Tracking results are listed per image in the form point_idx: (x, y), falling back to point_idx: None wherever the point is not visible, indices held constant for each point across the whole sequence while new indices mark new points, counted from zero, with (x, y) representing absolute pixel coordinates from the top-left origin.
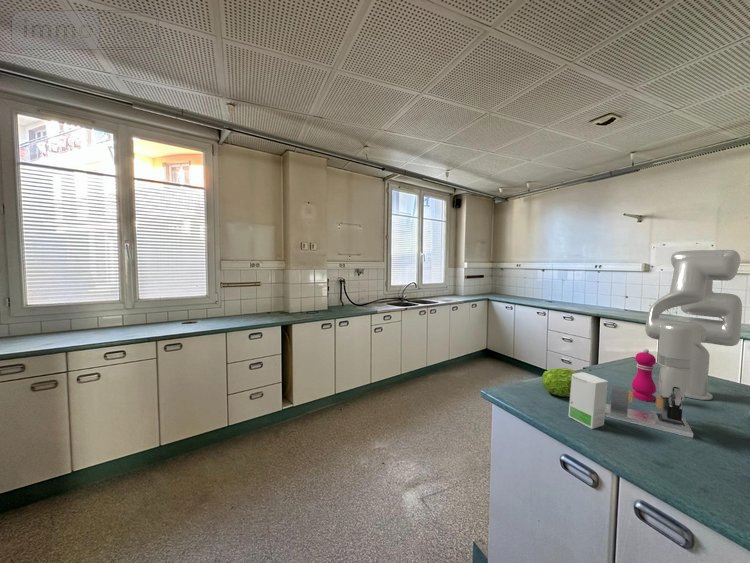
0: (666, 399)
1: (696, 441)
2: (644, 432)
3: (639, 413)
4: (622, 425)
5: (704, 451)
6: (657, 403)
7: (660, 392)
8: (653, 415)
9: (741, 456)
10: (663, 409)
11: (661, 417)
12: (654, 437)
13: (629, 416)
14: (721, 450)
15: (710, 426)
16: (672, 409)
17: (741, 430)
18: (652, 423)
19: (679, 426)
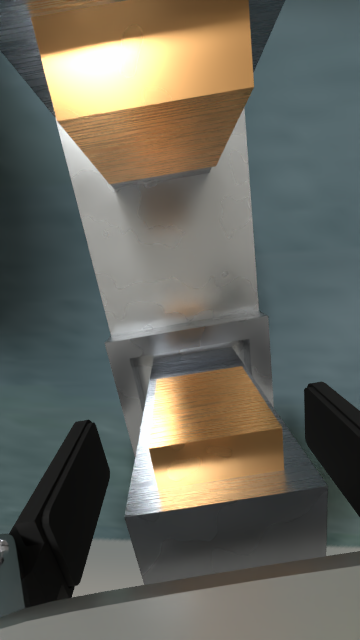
0: (166, 539)
1: (121, 450)
2: (19, 289)
3: (213, 254)
4: (4, 183)
5: (47, 467)
6: (153, 408)
7: (168, 625)
8: (185, 330)
9: (114, 536)
10: (144, 420)
11: (168, 370)
12: (2, 329)
13: (105, 204)
14: (110, 502)
15: (327, 483)
16: (15, 529)
17: (356, 544)
18: (108, 323)
19: (130, 434)
